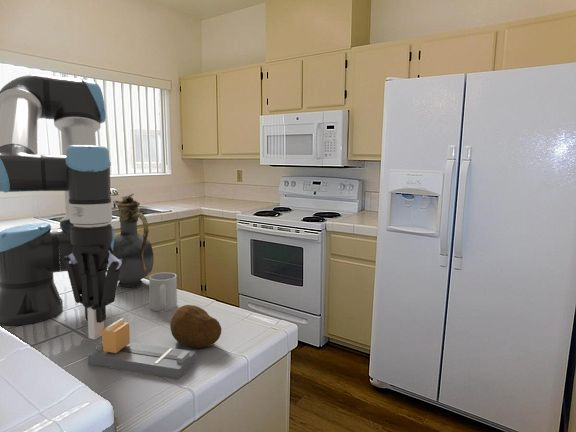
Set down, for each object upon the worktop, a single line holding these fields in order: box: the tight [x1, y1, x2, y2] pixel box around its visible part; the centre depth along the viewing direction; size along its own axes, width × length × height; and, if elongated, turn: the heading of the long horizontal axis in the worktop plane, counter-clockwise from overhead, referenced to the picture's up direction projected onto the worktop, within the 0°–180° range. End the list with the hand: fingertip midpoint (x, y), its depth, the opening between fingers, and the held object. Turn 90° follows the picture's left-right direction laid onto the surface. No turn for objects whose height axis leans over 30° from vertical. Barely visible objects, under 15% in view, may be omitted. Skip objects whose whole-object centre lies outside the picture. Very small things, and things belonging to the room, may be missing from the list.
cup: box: [148, 272, 178, 312], centre depth 106 cm, size 7×10×9 cm
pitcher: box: [107, 193, 155, 289], centre depth 122 cm, size 11×19×30 cm, turn 49°
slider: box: [101, 318, 131, 353], centre depth 79 cm, size 3×4×5 cm
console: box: [87, 341, 197, 380], centre depth 78 cm, size 20×7×3 cm, turn 77°
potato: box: [169, 304, 222, 349], centre depth 86 cm, size 8×12×9 cm
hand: (96, 335), depth 80 cm, fingers closed
